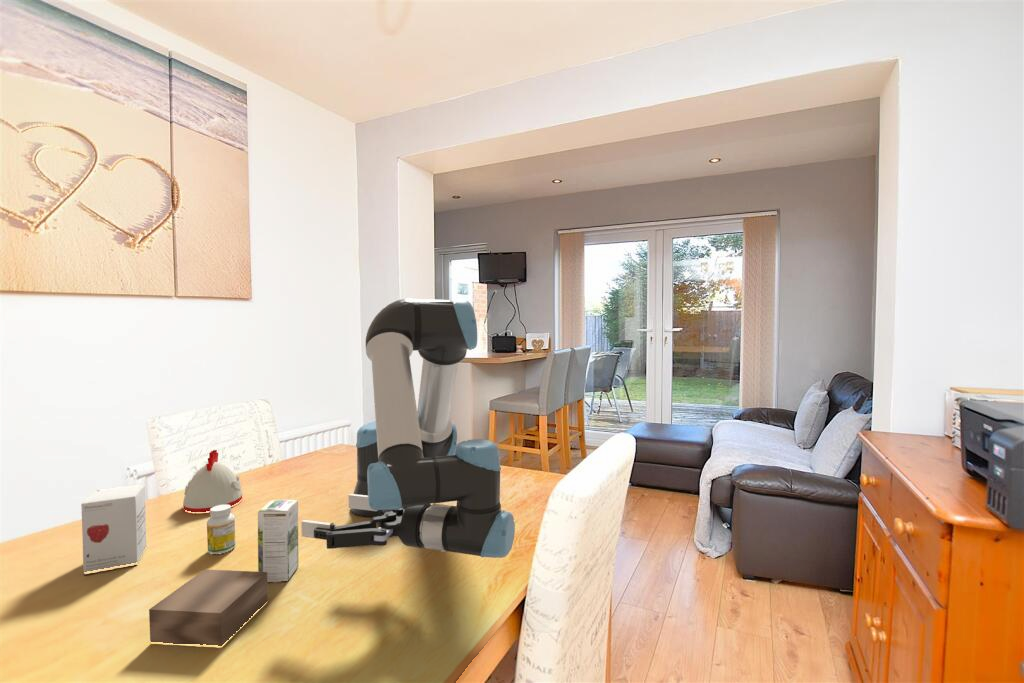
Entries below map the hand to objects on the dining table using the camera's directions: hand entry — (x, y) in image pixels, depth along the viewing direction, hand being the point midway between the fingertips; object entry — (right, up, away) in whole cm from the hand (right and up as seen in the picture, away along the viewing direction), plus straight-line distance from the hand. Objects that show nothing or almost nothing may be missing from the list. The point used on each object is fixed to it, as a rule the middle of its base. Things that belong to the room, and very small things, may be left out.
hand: (327, 513), depth 90 cm
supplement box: (-49, -14, +10) cm, 52 cm away
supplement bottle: (-30, -14, +15) cm, 36 cm away
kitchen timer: (-48, -13, +41) cm, 65 cm away
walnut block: (-16, -15, -10) cm, 24 cm away
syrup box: (-11, -14, +4) cm, 19 cm away
